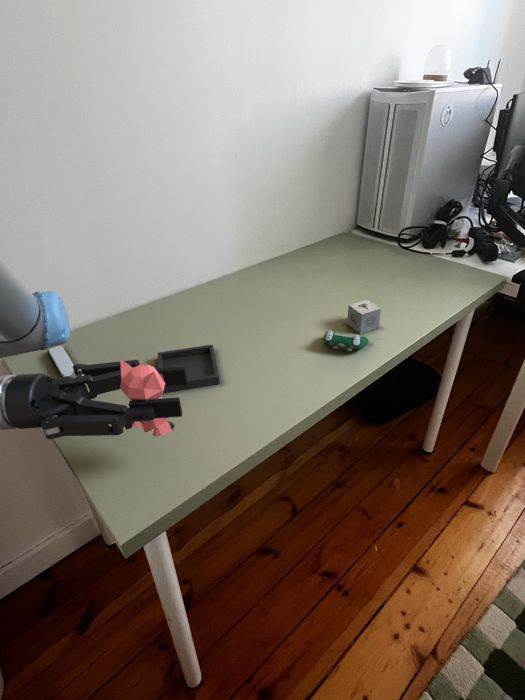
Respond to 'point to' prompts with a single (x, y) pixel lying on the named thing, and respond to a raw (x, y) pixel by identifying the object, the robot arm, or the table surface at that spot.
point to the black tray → (192, 366)
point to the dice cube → (363, 316)
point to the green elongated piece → (345, 341)
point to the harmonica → (61, 360)
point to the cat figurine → (145, 393)
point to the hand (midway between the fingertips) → (183, 390)
